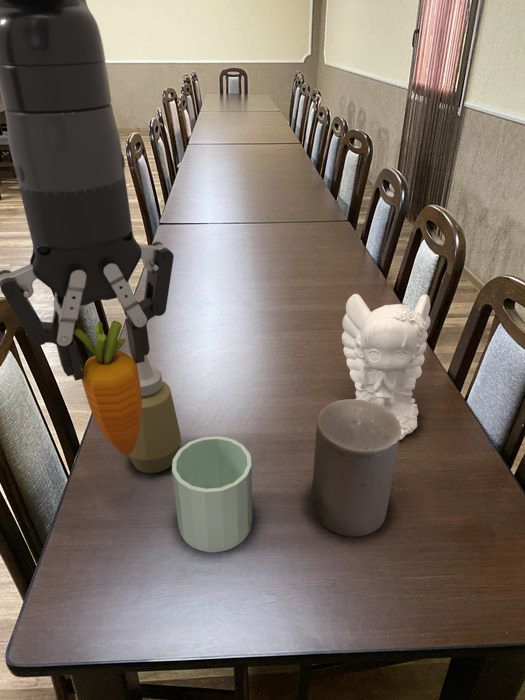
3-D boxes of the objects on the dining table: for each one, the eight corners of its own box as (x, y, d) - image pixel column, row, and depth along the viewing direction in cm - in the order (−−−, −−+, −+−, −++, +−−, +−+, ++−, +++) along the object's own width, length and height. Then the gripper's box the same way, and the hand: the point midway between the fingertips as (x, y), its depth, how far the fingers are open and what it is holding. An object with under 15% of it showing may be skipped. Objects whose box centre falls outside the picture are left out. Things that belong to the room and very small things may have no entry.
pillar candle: (298, 519, 67) (303, 426, 59) (327, 470, 74) (335, 381, 67) (374, 549, 63) (390, 453, 55) (396, 494, 71) (413, 403, 63)
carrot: (91, 464, 52) (55, 332, 44) (121, 432, 56) (92, 305, 48) (135, 477, 51) (106, 342, 43) (162, 443, 55) (140, 314, 47)
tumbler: (196, 564, 61) (190, 503, 56) (168, 511, 68) (160, 451, 63) (264, 533, 65) (265, 473, 60) (232, 485, 72) (229, 427, 67)
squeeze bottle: (179, 480, 73) (168, 369, 63) (119, 480, 73) (99, 369, 63) (186, 440, 80) (176, 335, 70) (131, 440, 80) (114, 335, 70)
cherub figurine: (331, 436, 81) (341, 318, 70) (336, 388, 91) (346, 280, 81) (421, 447, 79) (445, 327, 68) (415, 397, 89) (436, 286, 79)
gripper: (149, 153, 45) (168, 329, 54) (-40, 174, 39) (17, 368, 48) (182, 172, 39) (198, 365, 48) (-32, 200, 34) (31, 414, 43)
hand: (107, 366), depth 48 cm, fingers closed on carrot, 5 cm apart
